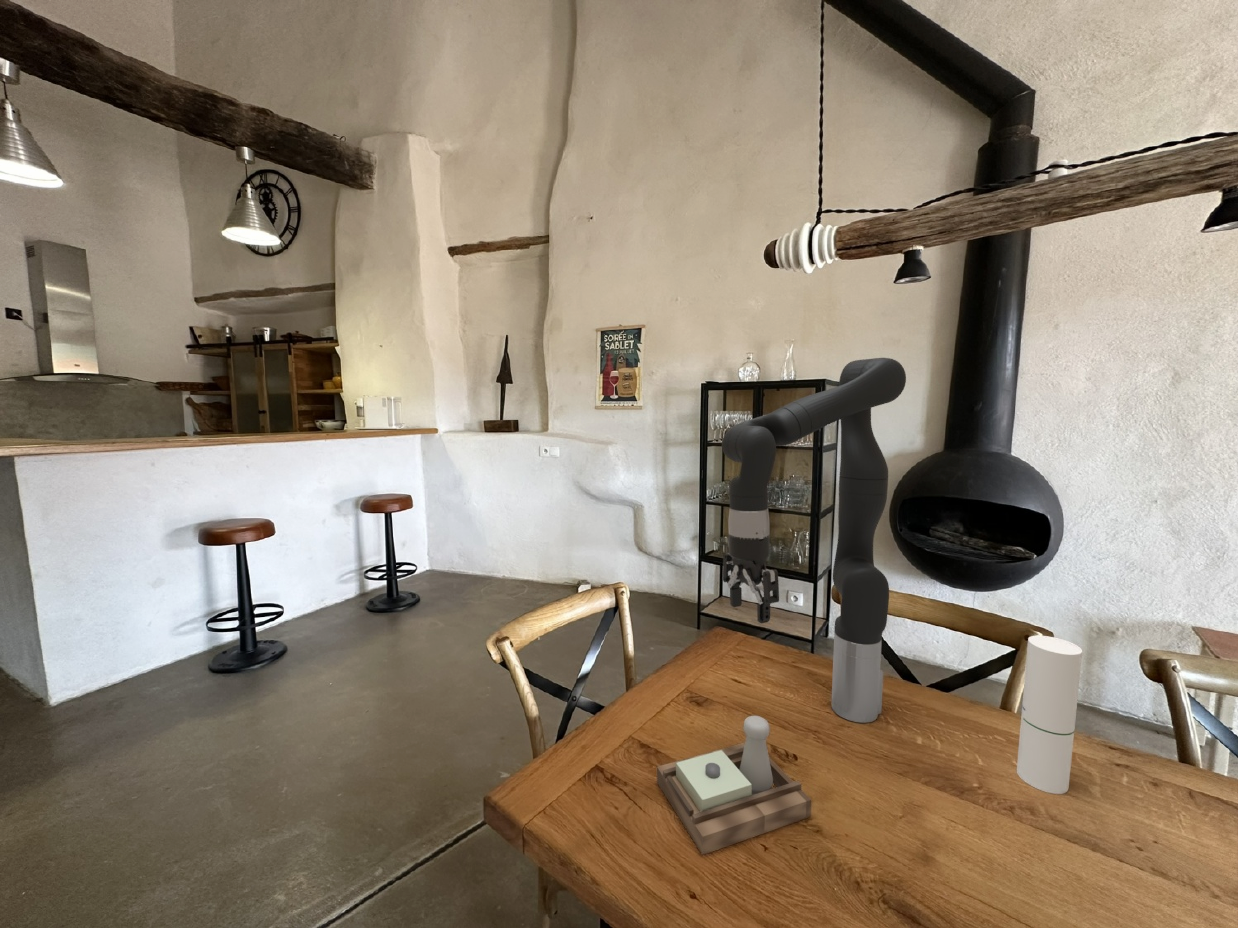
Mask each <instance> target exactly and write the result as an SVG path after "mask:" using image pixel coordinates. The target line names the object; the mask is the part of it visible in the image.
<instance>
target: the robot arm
mask: <svg viewBox="0 0 1238 928" xmlns="http://www.w3.org/2000/svg"><path fill="white" fill-rule="evenodd" d="M904 368H905V367H903V365H902V364H901V363H900V362H899V361H898V360H896V359H894V358H889V357H875V358H866V359H856V360H852V361H849V362H848V363H847V364H846V365H845V366H844V367H843V369H842V371H841V373H840V377H839V380H838V381H839V382H838V386H836V387H832V388H828V389H826V390H823V391H819V392H816V393H813V394H809V395H806V396H802V397H801V398H798V399H795V400H794V401H792V402H791V401H790V402H789V403H787V404H785V405H784V406H781V407H779V408H776V409H775V410H773V411H772V412H770V413H767V414H765V415H761V416H757V417H755V418H752V419H748V420H746V421H743V422H740V423H737V424H735V425H734V426H732V427H731V428H729V429H728V430H727V431H726V433H724V436H723V438H722V441H721V449H722V452H723V454H724V455H725V457H726V458H727V459H729V460H730V461H733V462H737V463H740V471H739V476H738V475H737V476H735V477H733V478H732V479H731V480H730V482H729V491H728V492H729V511H728V522H727V523H728V552H727V553H723V554H722V581H723V583H727V587H728V588H729V602H730V603H729V604H730V606H731V607H732V608H737V607H741V606H742V602H743V600H742V598H743V596H742V592H743V591H742V587H741V586H742V584H746V586H747V587H749V589H750V591H751V593H753V594H754V595H755V597H756V600H757V603H756V604H757V605H756V606H757V607H756V609H757V613H756V614H757V616H756V617H757V623H760V624H766V623H768V622H770V620H771V604H774V603H779V601H780V591H779V589H780V588H779V573H778V570H777V569H775V568H774V569H768V568H767V565H766V560H767V559H768V558H769V557H770V515H769V489H768V488H769V485H770V480H771V477H772V473H773V468H774V465H775V461H776V456H777V455H776V454H777V447H782V446H788V445H791V444H793V443H796V442H797V441H800V440H801V439H803V438H805V437H807V436H809V435H811V434H812V433H815V432H816V431H818V430H820V429H822V428H824V427H826V426H828V425H831V424H833V423H835V422H837V421H839V420H840V465H839V481H838V520H837V521H838V537H837V544H836V548H835V549H836V550H835V556H834V563H833V568H832V582H833V584H834V587H835V590H836V591H837V592H838V593H839V594H840V596H841V602H840V603H841V605H840V615H839V616H838V617H836V619H835V621H834V633H833V658H832V662H833V663H832V683H831V686H832V687H831V707H830V708H831V709H832V710H833V712H834V713H835V714H836V715H838V716H839V717H840V718H843V719H845V720H847V721H851V722H855V723H860V724H864V723H865V724H867V723H872V722H874V721H876V719H878V715H882V707H883V690H884V689H883V688H884V670H882V669H881V662H882V661H881V658H882V642H883V641H882V640H883V633H884V631H885V629H886V627H887V622H888V612H889V601H890V587H889V585H890V584H889V581H888V579H887V577H886V575H885V574H884V572H882V571H881V570H879V569H878V568H877V567H876V566H875V562H874V540H875V533H876V531H877V527H878V525H879V523H880V520H881V518H882V516H883V513H884V511H885V507H886V504H887V500H888V487H889V468H888V464H887V461H886V458H885V456H884V454H883V452H882V450H881V448H880V445H879V443H878V441H877V440H876V437H875V435H874V431H873V426H872V408H875V407H879V406H882V405H885V404H888V403H891V402H893V401H895V400H896V399H897V398H899V396H900V395H902V392H904V389H905V386H906V383H907V376H906V375H907V374H906V371H905V369H904ZM729 572H730V574H729ZM760 584H761V585H760ZM761 592H762V593H763V594H762V593H761ZM771 592H772V594H771Z"/></svg>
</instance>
